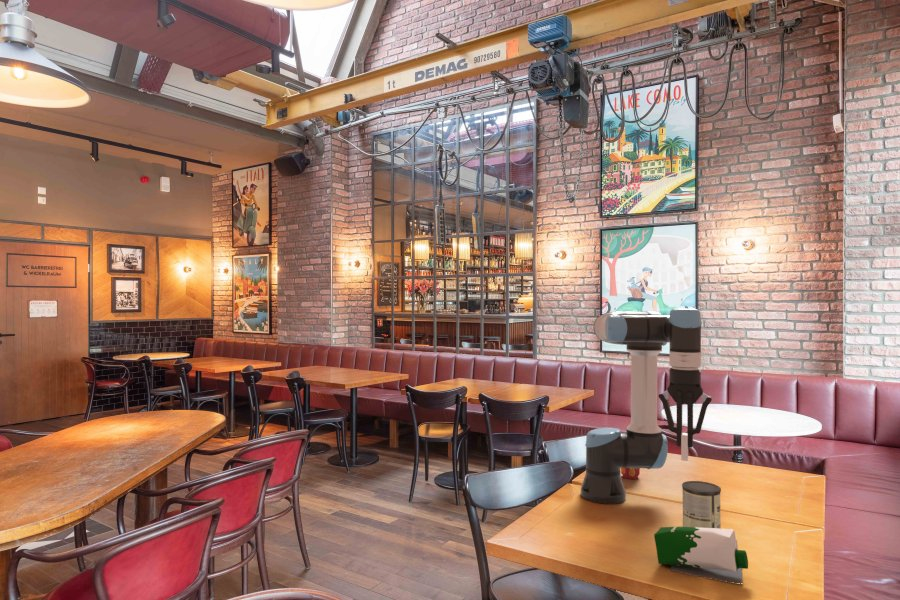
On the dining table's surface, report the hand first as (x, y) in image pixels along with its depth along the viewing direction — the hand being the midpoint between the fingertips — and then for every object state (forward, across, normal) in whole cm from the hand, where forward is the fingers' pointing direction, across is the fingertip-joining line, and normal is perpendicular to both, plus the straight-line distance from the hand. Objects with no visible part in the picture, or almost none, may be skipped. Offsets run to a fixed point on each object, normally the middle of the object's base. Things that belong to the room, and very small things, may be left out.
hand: (684, 459), depth 143 cm
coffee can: (+27, +3, +22) cm, 35 cm away
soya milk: (+23, -6, -2) cm, 23 cm away
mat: (+27, +5, 0) cm, 27 cm away
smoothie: (+28, -24, +70) cm, 78 cm away
